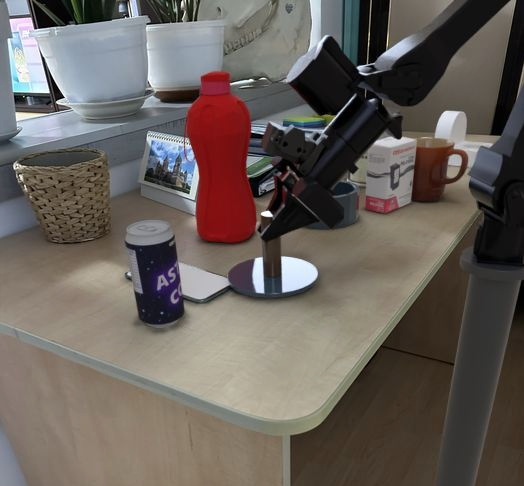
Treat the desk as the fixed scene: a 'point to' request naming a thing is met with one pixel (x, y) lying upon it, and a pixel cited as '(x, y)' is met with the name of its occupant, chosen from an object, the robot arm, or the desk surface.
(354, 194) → the pot
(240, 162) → the water bottle
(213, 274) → the smartphone
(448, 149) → the mug
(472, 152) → the tape dispenser
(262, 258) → the lid
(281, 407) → the desk surface
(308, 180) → the robot arm
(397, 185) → the ink box
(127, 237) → the beverage can
